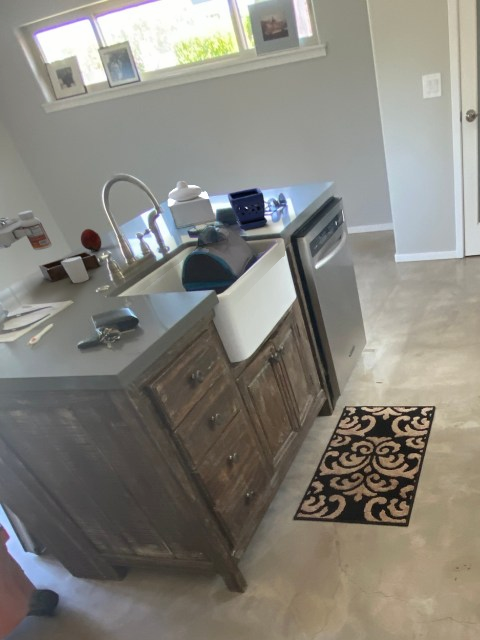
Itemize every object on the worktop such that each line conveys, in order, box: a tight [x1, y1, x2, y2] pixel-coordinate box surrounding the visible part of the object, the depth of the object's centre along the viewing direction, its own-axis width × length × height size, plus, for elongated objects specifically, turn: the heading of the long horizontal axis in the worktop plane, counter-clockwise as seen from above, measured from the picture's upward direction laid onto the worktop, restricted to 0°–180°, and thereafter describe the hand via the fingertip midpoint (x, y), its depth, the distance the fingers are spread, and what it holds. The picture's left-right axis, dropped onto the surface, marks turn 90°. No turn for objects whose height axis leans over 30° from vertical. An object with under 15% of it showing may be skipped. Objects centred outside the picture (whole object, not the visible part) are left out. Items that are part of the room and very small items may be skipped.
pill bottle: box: [17, 210, 53, 251], centre depth 177 cm, size 6×6×11 cm
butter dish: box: [167, 180, 216, 230], centre depth 229 cm, size 18×18×16 cm
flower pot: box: [227, 187, 268, 231], centre depth 210 cm, size 13×13×12 cm
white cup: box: [61, 257, 90, 284], centre depth 182 cm, size 7×7×7 cm
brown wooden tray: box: [38, 251, 101, 283], centre depth 193 cm, size 18×10×4 cm, turn 134°
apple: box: [80, 228, 102, 252], centre depth 212 cm, size 7×8×8 cm
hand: (36, 228), depth 177 cm, fingers closed on pill bottle, 6 cm apart
